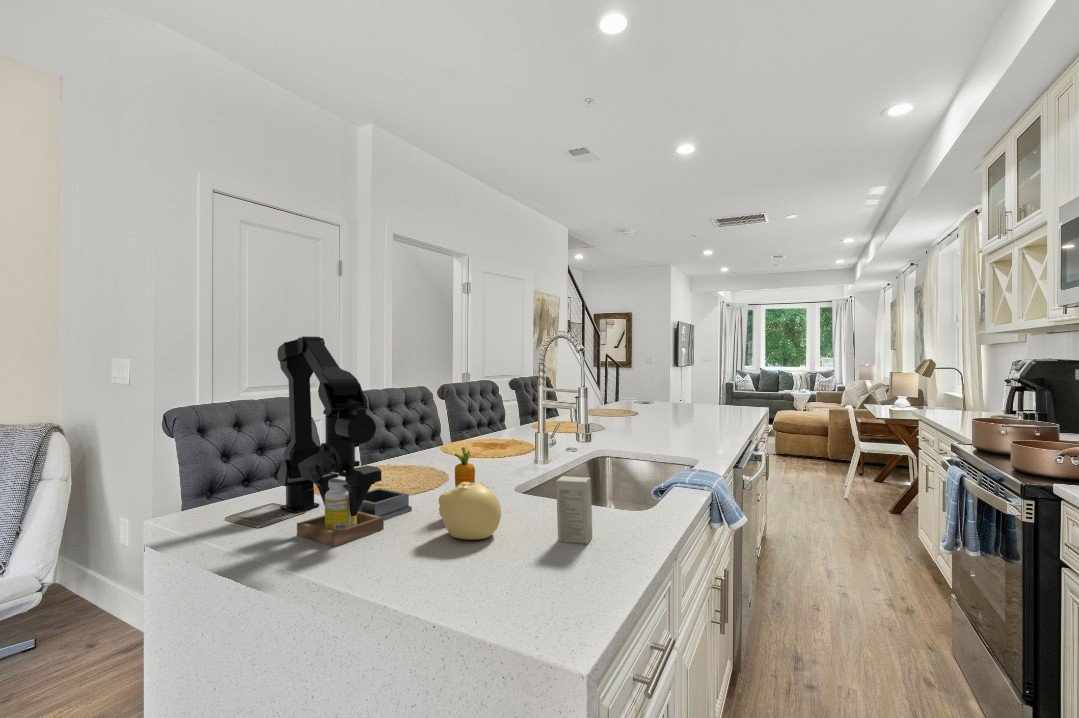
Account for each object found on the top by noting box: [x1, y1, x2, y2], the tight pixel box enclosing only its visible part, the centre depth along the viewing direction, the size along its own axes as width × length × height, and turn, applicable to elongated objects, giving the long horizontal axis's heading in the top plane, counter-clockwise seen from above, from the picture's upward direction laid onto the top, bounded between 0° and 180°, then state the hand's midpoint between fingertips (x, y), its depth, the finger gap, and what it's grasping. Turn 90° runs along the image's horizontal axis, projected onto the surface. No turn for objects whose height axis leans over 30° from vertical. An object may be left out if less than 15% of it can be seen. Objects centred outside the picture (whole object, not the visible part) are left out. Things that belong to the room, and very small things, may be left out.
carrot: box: [454, 447, 476, 488], centre depth 124 cm, size 5×5×15 cm
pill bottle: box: [324, 476, 357, 531], centre depth 111 cm, size 6×6×11 cm
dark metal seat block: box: [358, 488, 413, 521], centre depth 124 cm, size 11×11×4 cm
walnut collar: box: [296, 511, 385, 548], centre depth 111 cm, size 12×12×2 cm
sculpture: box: [438, 482, 502, 541], centre depth 109 cm, size 11×12×11 cm
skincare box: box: [555, 475, 593, 544], centre depth 106 cm, size 6×4×12 cm
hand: (340, 512), depth 111 cm, fingers open, 8 cm apart
